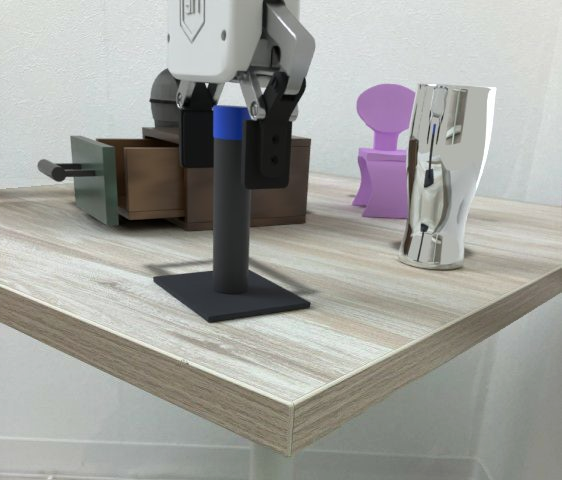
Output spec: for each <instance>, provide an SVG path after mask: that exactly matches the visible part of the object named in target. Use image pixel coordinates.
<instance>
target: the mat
mask: <svg viewBox="0 0 562 480" xmlns="http://www.w3.org/2000/svg"><path fill="white" fill-rule="evenodd" d="M152 282H154V283H155V284H156V285H157V286H159V287H160V288H161V289H163V290H164V291H165V292H167V293H169V294H170V295H171V296H172V297H174V298H175V299H177V300H178V301H179V302H181V303H182V304H183V305H184V306H186V307H187V308H188V309H190V310H191V311H193V312H194V313H195V314H197V315H198V316H199V317H201V318H202V319H204V320H205V321H206V322H207V323H213V322H219V321H227V320H235V319H240V318H241V319H242V318H247V317H254V316H260V315H267V314H274V313H282V312H288V311H293V310H302V309H309V308H311V305H312V304H311V301H309V300H308V299H305V298H303V297H302V296H299V295H298V294H296V293H294V292H292V291H290V290H288V289H286V288H284V287H283V286H281V285H279V284H277V283H275V282H273V281H272V280H270V279H268V278H266V277H264V276H262V275H261V274H258V273H256V272H254V271H252V270H251V269H249V271H248V290H247V291H246V292H244V293H240V294H224V293H219V292H216V291H214V290H213V270H204V271H195V272H186V273H175V274H174V273H173V274H167V275H157V276H153V277H152Z"/></svg>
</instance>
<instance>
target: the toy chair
mask: <svg viewBox="0 0 562 480" xmlns="http://www.w3.org/2000/svg"><path fill="white" fill-rule="evenodd" d="M415 93H416V91H414V90H412V89H410V88H409V87H407V86H404V85H401V84H397V83H380V84H376V85H373V86H371V87H369V88H366V89H365V90H363V92H361V93H360V94H359V96H358V97H357V100H356V104H355V105H356V106H355V107H356V113H357V115H358V117H359V118H360V119H361V121H362V122H364V124H365V125H366V126H367V127H368V128H369V129H370V130H372V131H373V143H372V148H370V147H358V153H357V164H358V168H359V171H360V183H359V188H358V190H357V193H356V195H355V196H354V199H353V200H352V203H351V205H352V206H365V207H364V210H363V211H362V213H361V217H366V218H390V219H391V218H393V219H407V181H406V149H398V140H399V135H400V134H401V133H402V132H404V131H406V130H407V131H408V130H409V124H410V118H411V112H412V107H413V102H414V98H415Z"/></svg>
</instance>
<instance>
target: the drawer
mask: <svg viewBox="0 0 562 480" xmlns="http://www.w3.org/2000/svg"><path fill="white" fill-rule="evenodd" d="M69 137H70V138H69V140H70V150H71V162H65V163H64V162H61V163H60V162H59V163H58V162H57V163H55V162H53V161H50V160H48V159H47V158H46V159H45V158H42V159H40V160H38V162H37V166H36V167H37V170H38V171H39V172H40V173H42V174H43V175H45V176H47V177H48V178H49V179H52V180H53V181H55V182H57V183H62V182H63V181H65V180H66V178H73V188H74V189H73V190H74V202H75V206H76V207H77V208H79V209H81V210H82V211H83V212H85V213H87V214H88V215H89V216H90V217H93V218H94V219H96V220H98V221H99V222H100V223H102V224H104V225H105V226H106V227H114V226H119V225H120V222H119V221H120V219H119V215H120V216H122V217H124V218H125V219H127V220H129V221H137V220H151V219H152V220H154V219H155V220H156V219H163V218H174V217H185V192H184V167H182V166H180V164H179V144H176V143H172V142H168V141H165V140H161V139H143V138H119V137H118V138H115V137H114V138H113V137H111V138H110V137H109V138H106V137H105V138H103V137H102V138H101V137H100V138H99V137H97V138H95V139H92V138H89V137H86V136H84V135H70V136H69Z"/></svg>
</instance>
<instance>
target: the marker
mask: <svg viewBox="0 0 562 480" xmlns="http://www.w3.org/2000/svg"><path fill="white" fill-rule="evenodd" d="M243 120H252V119H251V117H250V115H249V112H248V109H247V106H246V105H245V106H244V105H227V104H217V105H214V107H213V137H214V189H213V229H212V271H213V290H214V291H216V292H219V293H224V294H240V293H244V292H246V291H247V290H248V271H249V270H250V268H249V267H250V235H251V227H250V207H251V190H250V189H246V188H244V187H243V186H242V185H241V162H242V125H243Z"/></svg>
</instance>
